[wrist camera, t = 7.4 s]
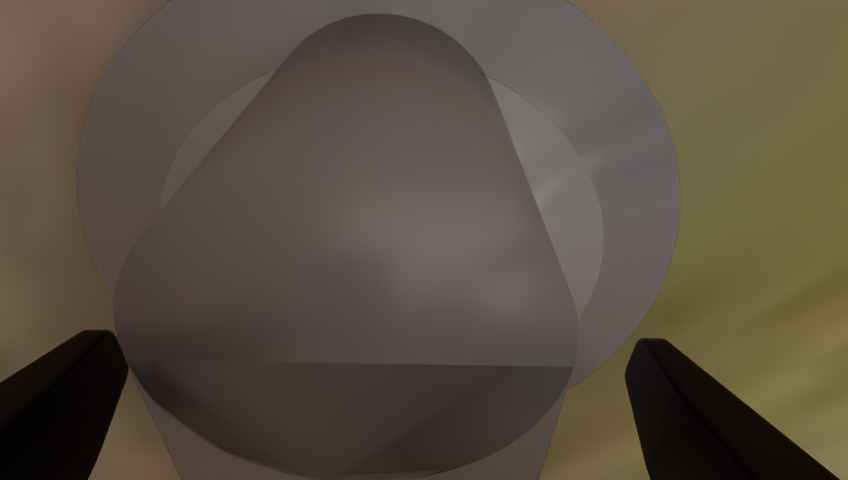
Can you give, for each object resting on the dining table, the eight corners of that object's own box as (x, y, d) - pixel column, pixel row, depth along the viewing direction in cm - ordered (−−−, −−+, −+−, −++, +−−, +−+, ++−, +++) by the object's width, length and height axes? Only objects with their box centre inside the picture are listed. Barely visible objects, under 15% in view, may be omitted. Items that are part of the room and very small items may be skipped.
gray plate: (764, -51, 8) (801, -46, 7) (591, 416, 15) (600, 443, 14) (-17, -80, 7) (-65, -77, 7) (183, 412, 14) (170, 440, 13)
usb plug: (515, 17, 7) (637, 166, 3) (456, 467, 14) (472, 693, 10) (248, 8, 7) (27, 150, 3) (320, 466, 14) (281, 693, 10)
